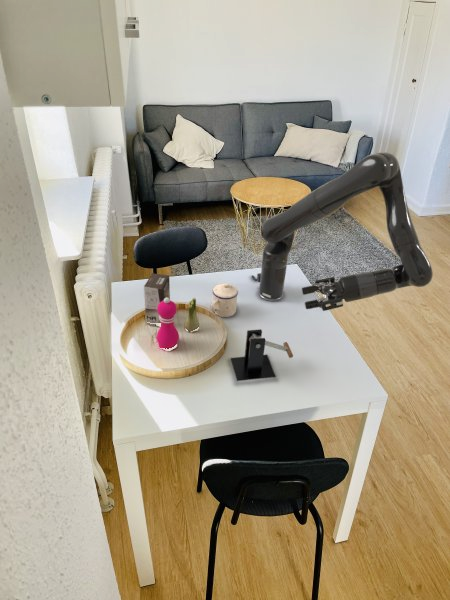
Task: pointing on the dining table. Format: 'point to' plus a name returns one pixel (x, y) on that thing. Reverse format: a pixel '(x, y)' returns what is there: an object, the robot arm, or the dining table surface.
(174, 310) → the pepper mill
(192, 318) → the fennel bulb
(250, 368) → the bracket
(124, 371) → the dining table surface
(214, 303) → the teacup with lid
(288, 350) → the lever
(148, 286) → the coffee box
